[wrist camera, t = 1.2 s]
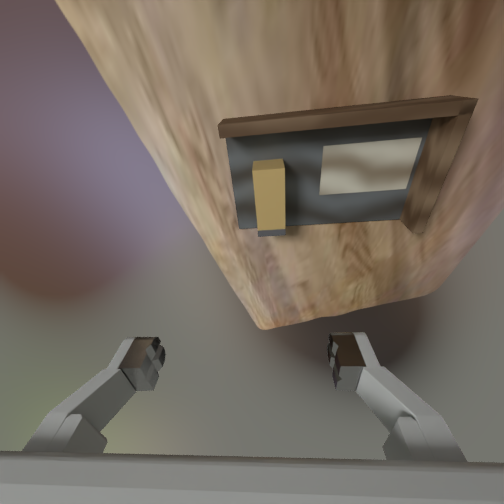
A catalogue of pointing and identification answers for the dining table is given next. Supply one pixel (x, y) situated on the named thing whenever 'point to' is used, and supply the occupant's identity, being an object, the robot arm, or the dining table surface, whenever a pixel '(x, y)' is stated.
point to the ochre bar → (269, 196)
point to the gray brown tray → (351, 159)
